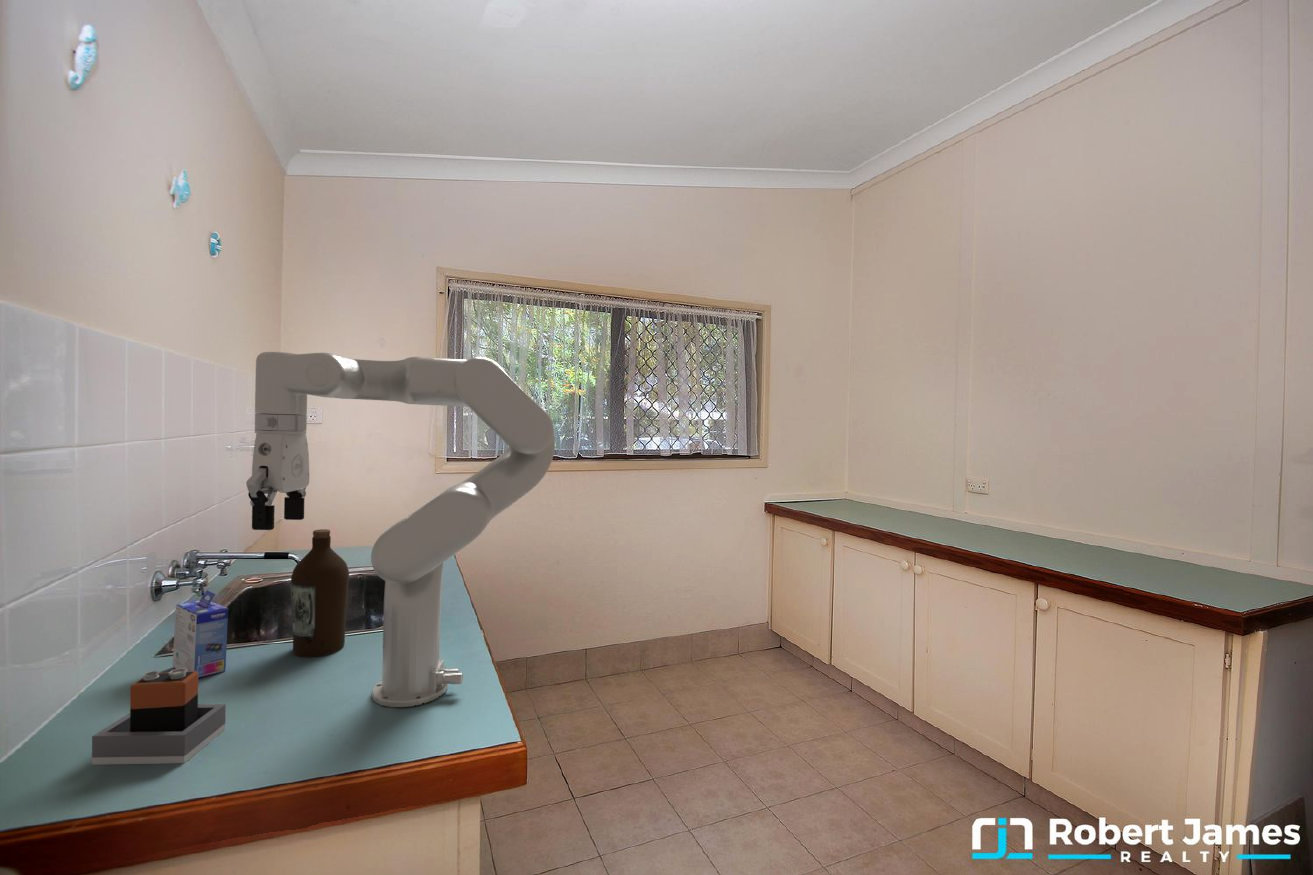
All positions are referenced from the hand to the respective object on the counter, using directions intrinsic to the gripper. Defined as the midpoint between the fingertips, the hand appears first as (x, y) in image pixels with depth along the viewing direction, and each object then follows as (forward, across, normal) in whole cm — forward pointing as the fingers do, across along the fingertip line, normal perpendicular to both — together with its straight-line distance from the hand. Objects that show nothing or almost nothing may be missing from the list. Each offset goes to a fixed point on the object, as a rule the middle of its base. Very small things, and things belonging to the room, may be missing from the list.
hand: (279, 524), depth 102 cm
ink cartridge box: (+31, +12, +20) cm, 38 cm away
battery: (+30, -15, +8) cm, 34 cm away
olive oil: (+31, +22, +3) cm, 38 cm away
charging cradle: (+30, -15, +8) cm, 35 cm away
